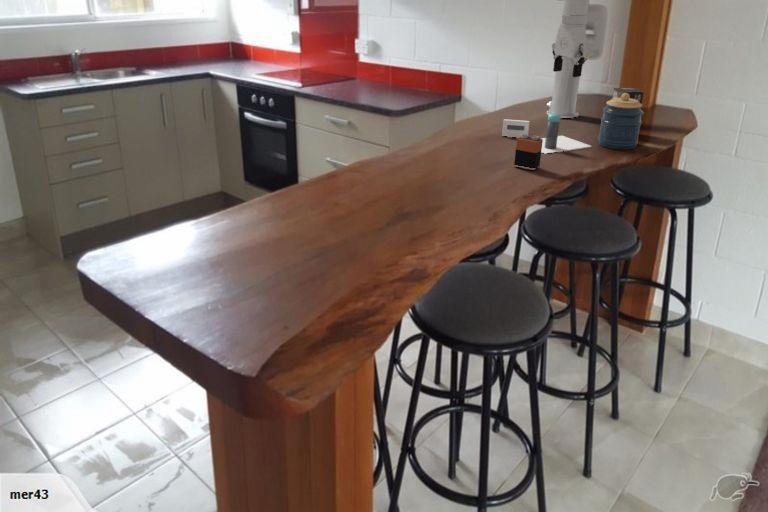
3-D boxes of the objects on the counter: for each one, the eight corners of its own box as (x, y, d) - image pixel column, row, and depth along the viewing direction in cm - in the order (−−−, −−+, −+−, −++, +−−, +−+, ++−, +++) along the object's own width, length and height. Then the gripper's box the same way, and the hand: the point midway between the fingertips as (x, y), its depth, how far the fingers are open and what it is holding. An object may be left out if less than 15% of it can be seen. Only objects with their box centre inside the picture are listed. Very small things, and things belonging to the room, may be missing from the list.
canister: (596, 148, 207) (604, 95, 199) (598, 138, 218) (606, 88, 210) (637, 152, 203) (647, 98, 195) (636, 142, 214) (646, 90, 206)
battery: (534, 171, 184) (537, 139, 180) (513, 167, 188) (516, 135, 183) (539, 167, 188) (543, 135, 183) (519, 163, 191) (522, 132, 187)
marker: (541, 146, 207) (545, 114, 202) (551, 145, 208) (555, 113, 203) (549, 149, 204) (553, 116, 199) (559, 148, 205) (563, 115, 200)
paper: (516, 143, 212) (516, 141, 212) (561, 136, 220) (562, 135, 220) (544, 154, 200) (545, 153, 200) (591, 147, 208) (591, 146, 208)
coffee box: (631, 132, 226) (639, 87, 219) (636, 137, 220) (644, 91, 213) (606, 131, 227) (613, 87, 220) (610, 136, 221) (618, 90, 214)
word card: (502, 135, 221) (503, 119, 218) (527, 137, 218) (529, 121, 216) (501, 136, 220) (503, 120, 217) (527, 138, 217) (529, 121, 215)
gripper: (547, 17, 205) (541, 70, 213) (583, 24, 191) (575, 80, 199) (565, 16, 207) (558, 68, 216) (601, 22, 194) (593, 77, 202)
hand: (566, 73), depth 207 cm, fingers open, 9 cm apart
